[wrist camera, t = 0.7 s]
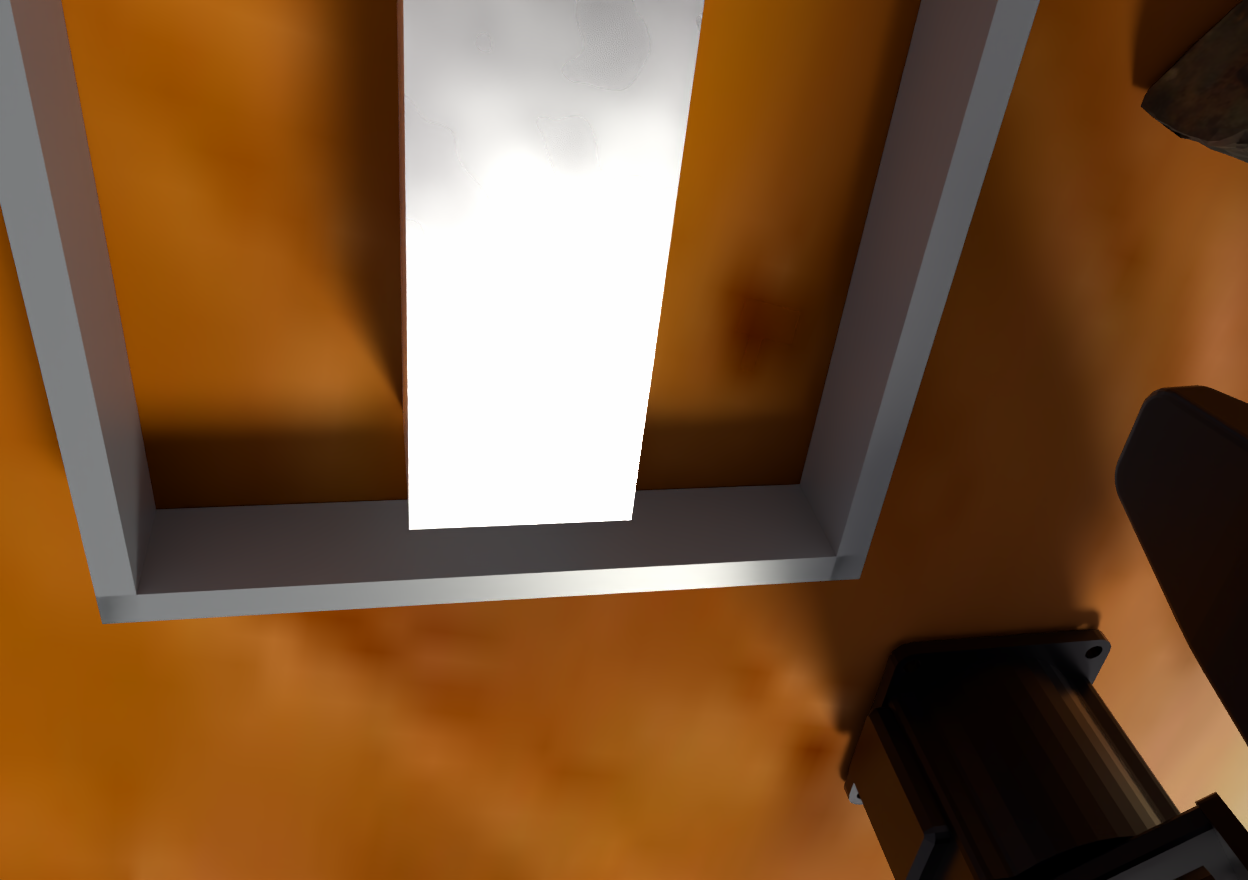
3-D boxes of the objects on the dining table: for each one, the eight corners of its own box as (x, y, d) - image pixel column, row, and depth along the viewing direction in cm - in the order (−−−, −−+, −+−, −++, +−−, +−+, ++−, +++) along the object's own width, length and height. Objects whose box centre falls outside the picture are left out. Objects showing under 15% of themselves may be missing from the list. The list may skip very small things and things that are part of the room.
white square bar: (706, -641, 14) (805, -719, 11) (594, 398, 23) (631, 519, 20) (385, -704, 13) (394, -806, 10) (402, 402, 22) (409, 529, 19)
